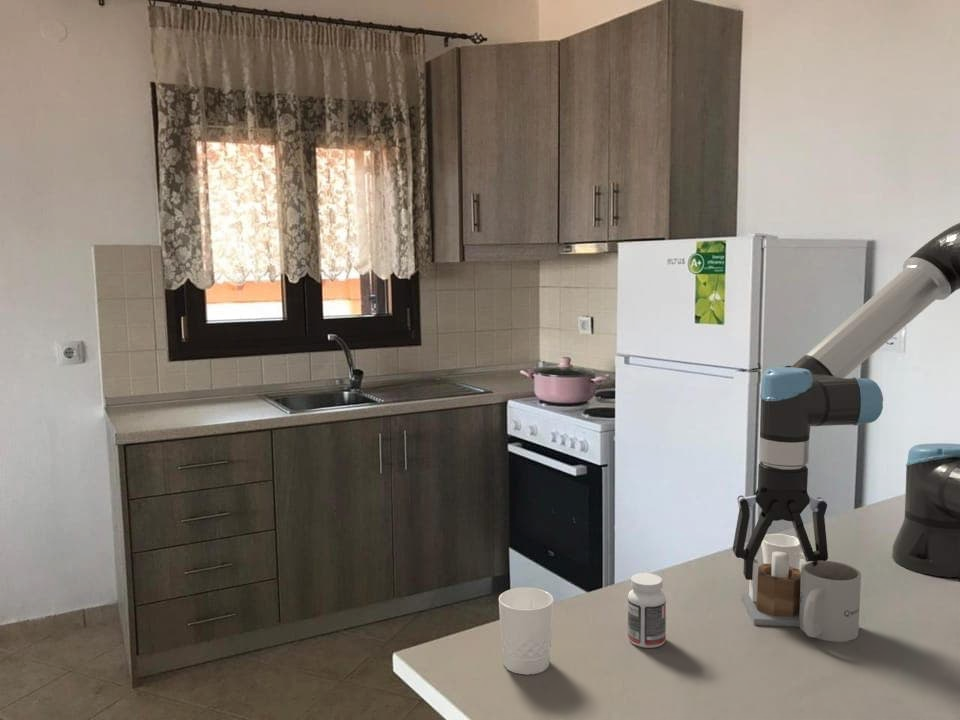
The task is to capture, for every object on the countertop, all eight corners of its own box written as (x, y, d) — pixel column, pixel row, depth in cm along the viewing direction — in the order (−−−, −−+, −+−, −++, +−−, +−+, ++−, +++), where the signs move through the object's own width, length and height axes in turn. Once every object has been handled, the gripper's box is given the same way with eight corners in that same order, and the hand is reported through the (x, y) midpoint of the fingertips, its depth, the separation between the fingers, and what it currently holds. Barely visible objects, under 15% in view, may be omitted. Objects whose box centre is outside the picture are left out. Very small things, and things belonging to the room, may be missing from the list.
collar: (794, 598, 136) (795, 564, 135) (806, 617, 129) (807, 581, 128) (750, 597, 137) (751, 563, 136) (759, 615, 130) (761, 579, 129)
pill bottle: (667, 634, 126) (668, 574, 124) (663, 651, 120) (664, 588, 119) (630, 630, 128) (631, 569, 126) (624, 646, 122) (625, 583, 121)
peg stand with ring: (801, 601, 137) (803, 544, 136) (819, 627, 127) (821, 566, 126) (741, 598, 139) (742, 542, 137) (753, 624, 129) (755, 564, 127)
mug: (819, 614, 133) (822, 556, 132) (869, 634, 126) (872, 573, 125) (772, 634, 126) (774, 573, 125) (822, 656, 119) (825, 591, 118)
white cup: (537, 683, 112) (537, 614, 111) (489, 668, 116) (488, 602, 115) (562, 659, 119) (562, 594, 117) (516, 646, 123) (515, 583, 121)
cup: (777, 572, 150) (778, 530, 149) (823, 591, 141) (825, 546, 140) (750, 580, 147) (752, 537, 146) (796, 599, 138) (798, 554, 137)
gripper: (840, 459, 132) (834, 592, 135) (715, 456, 135) (711, 587, 138) (856, 470, 125) (849, 611, 128) (723, 467, 127) (719, 605, 130)
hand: (777, 598), depth 133 cm, fingers closed on collar, 7 cm apart
